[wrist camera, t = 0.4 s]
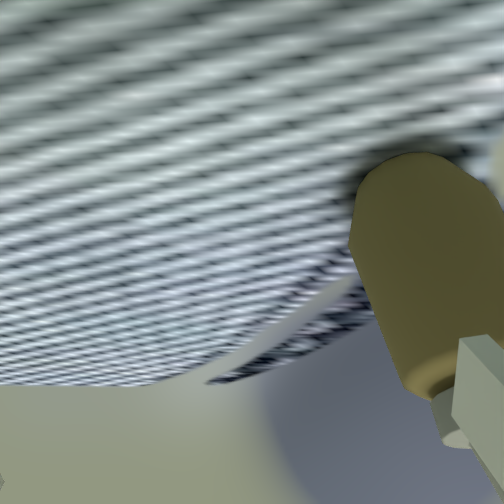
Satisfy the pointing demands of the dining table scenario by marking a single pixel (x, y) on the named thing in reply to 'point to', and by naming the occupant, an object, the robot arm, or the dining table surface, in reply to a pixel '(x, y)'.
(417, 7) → the dining table surface
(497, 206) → the squeeze bottle
